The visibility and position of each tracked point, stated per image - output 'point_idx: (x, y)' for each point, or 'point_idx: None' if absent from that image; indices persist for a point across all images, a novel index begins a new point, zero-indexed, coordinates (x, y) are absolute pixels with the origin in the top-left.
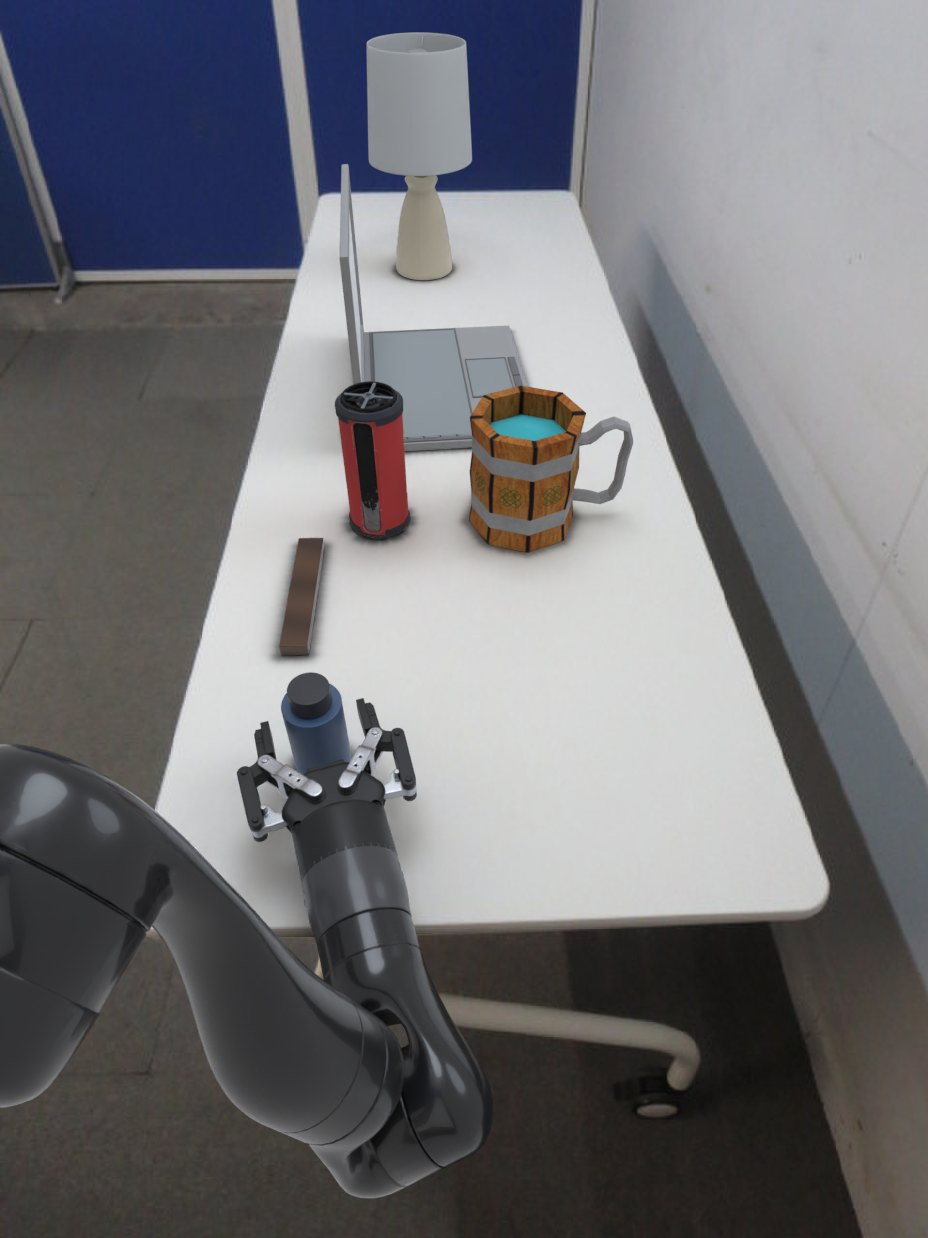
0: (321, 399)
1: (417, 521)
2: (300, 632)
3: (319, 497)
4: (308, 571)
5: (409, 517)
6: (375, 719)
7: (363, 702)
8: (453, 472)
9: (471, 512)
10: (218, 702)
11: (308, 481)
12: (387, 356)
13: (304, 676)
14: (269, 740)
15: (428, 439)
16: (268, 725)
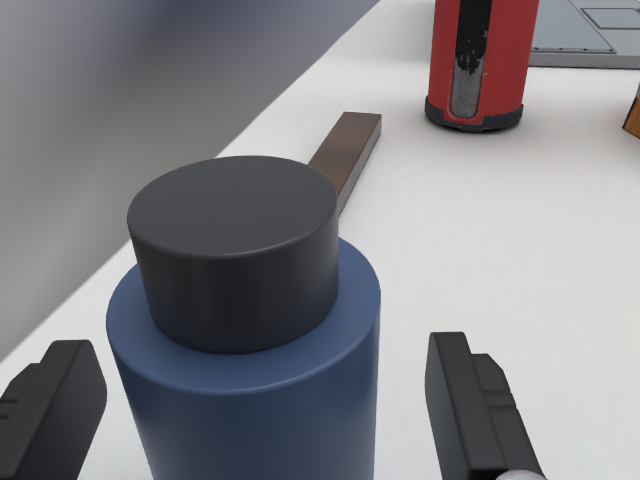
0: (402, 30)
1: (532, 121)
2: None
3: (383, 90)
4: (348, 144)
5: (522, 109)
6: (515, 430)
7: (463, 346)
8: (582, 85)
9: (633, 109)
10: (105, 312)
11: (372, 78)
12: None
13: (239, 163)
14: (36, 415)
15: (543, 50)
16: (74, 354)
